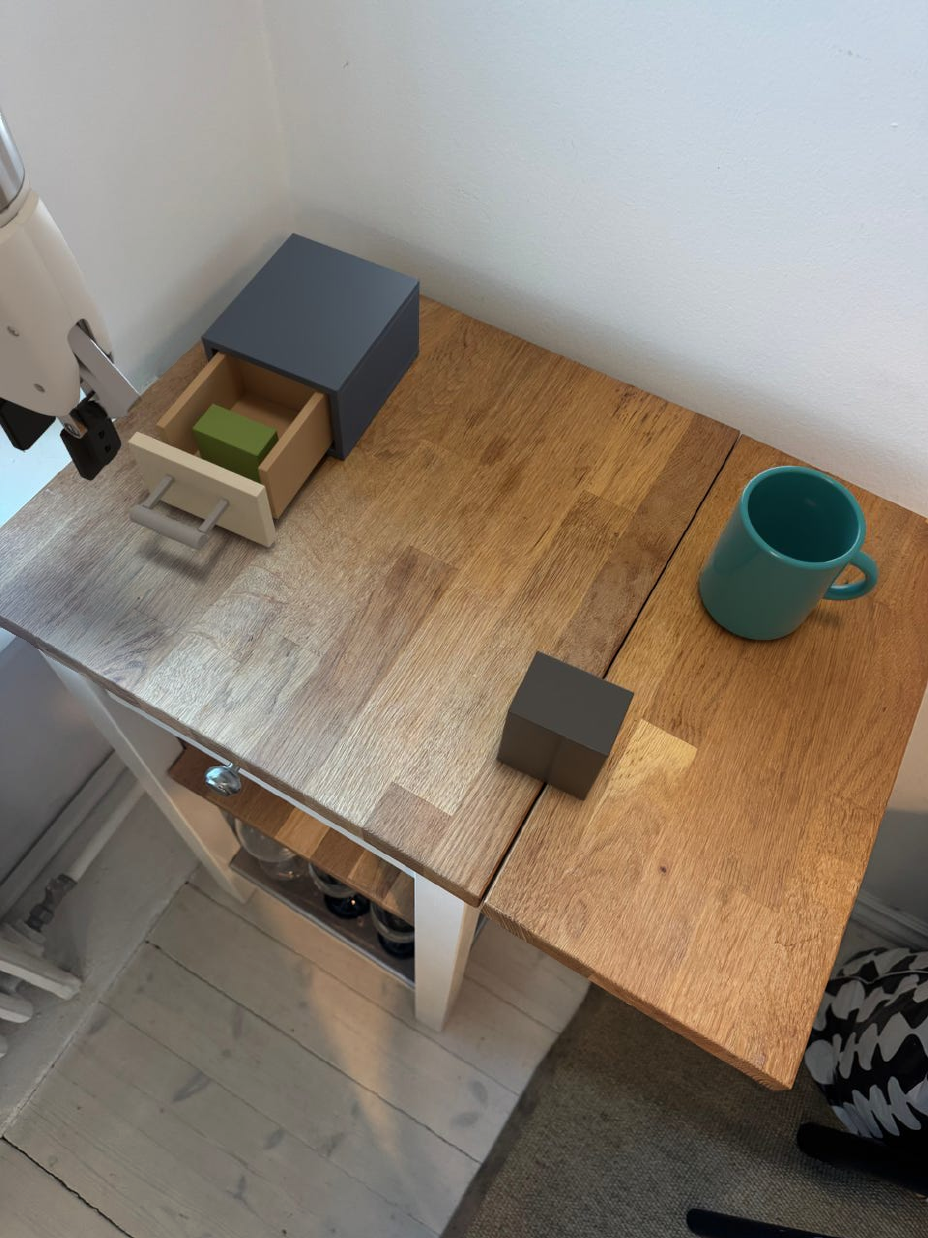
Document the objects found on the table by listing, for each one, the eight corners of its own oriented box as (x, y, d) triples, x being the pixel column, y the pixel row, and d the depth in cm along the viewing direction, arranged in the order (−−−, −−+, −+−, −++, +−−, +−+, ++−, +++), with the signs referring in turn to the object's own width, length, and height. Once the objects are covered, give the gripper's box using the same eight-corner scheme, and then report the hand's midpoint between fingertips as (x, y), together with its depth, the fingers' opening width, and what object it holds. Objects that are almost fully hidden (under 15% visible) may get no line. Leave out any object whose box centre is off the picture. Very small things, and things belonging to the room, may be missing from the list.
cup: (835, 669, 70) (903, 597, 61) (686, 623, 72) (730, 545, 62) (848, 578, 75) (914, 497, 65) (708, 536, 76) (751, 450, 66)
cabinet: (344, 460, 78) (336, 391, 71) (220, 409, 80) (200, 336, 73) (419, 353, 85) (419, 279, 77) (303, 308, 87) (292, 232, 79)
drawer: (237, 592, 70) (221, 544, 64) (115, 537, 72) (89, 485, 66) (350, 433, 78) (345, 377, 72) (238, 388, 80) (224, 329, 74)
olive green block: (203, 464, 75) (191, 428, 71) (222, 439, 76) (212, 402, 72) (265, 491, 74) (257, 455, 70) (284, 465, 75) (277, 429, 71)
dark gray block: (495, 760, 65) (507, 711, 57) (522, 703, 68) (537, 649, 60) (584, 801, 64) (608, 757, 56) (608, 742, 66) (635, 692, 59)
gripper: (-302, 149, 37) (-87, 440, 53) (29, 283, 34) (151, 548, 50) (-167, 60, 41) (-3, 359, 57) (144, 175, 38) (224, 455, 54)
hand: (68, 445), depth 53 cm, fingers open, 4 cm apart
